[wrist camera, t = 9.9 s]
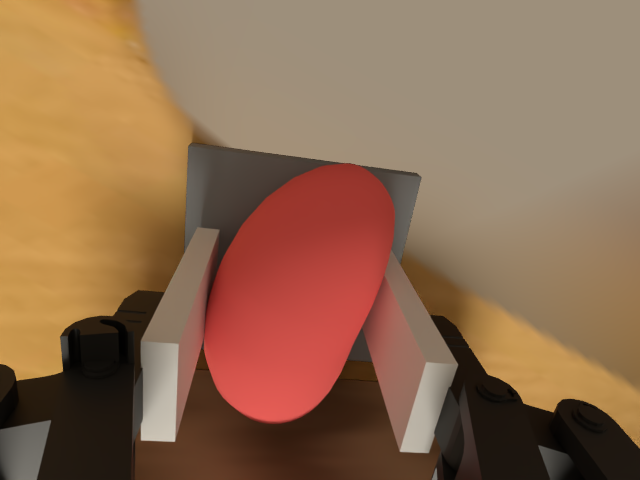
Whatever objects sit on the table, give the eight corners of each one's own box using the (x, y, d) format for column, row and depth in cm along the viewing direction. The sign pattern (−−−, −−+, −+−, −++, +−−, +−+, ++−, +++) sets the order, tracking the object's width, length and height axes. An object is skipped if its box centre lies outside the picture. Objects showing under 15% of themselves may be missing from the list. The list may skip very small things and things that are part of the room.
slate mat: (416, 173, 16) (421, 177, 15) (373, 353, 19) (376, 362, 18) (191, 142, 15) (188, 145, 14) (183, 338, 18) (180, 348, 17)
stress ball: (167, 284, 17) (164, 451, 14) (266, 108, 12) (307, 304, 8) (280, 300, 20) (304, 442, 16) (403, 162, 15) (481, 328, 11)
